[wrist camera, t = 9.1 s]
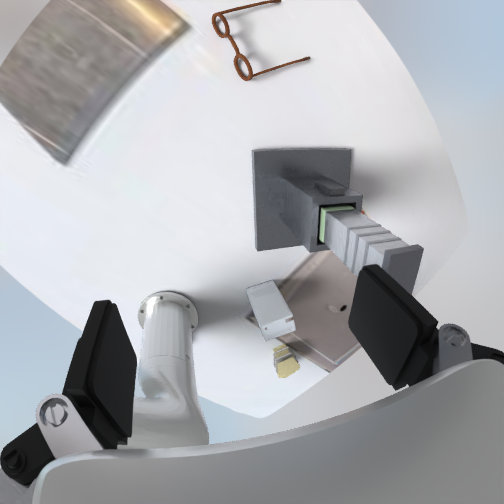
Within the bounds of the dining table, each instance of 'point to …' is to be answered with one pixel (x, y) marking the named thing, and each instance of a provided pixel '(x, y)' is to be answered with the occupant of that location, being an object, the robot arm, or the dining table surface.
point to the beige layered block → (285, 361)
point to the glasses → (227, 34)
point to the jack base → (298, 194)
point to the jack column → (367, 244)
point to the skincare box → (270, 310)
